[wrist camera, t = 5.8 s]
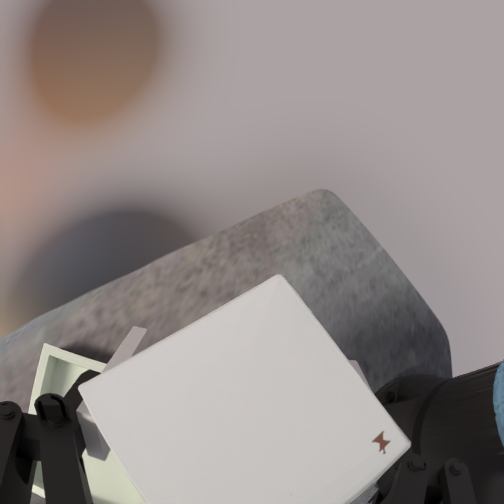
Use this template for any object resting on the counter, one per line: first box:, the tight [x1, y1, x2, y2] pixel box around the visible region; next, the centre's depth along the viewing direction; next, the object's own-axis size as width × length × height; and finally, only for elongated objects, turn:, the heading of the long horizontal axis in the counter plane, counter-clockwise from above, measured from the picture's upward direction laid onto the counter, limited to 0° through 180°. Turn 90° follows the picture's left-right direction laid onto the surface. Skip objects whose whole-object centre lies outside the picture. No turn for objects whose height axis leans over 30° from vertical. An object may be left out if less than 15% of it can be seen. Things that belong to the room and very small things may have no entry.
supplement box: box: [78, 274, 411, 504], centre depth 12 cm, size 7×7×13 cm
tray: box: [28, 343, 146, 504], centre depth 24 cm, size 14×17×3 cm
